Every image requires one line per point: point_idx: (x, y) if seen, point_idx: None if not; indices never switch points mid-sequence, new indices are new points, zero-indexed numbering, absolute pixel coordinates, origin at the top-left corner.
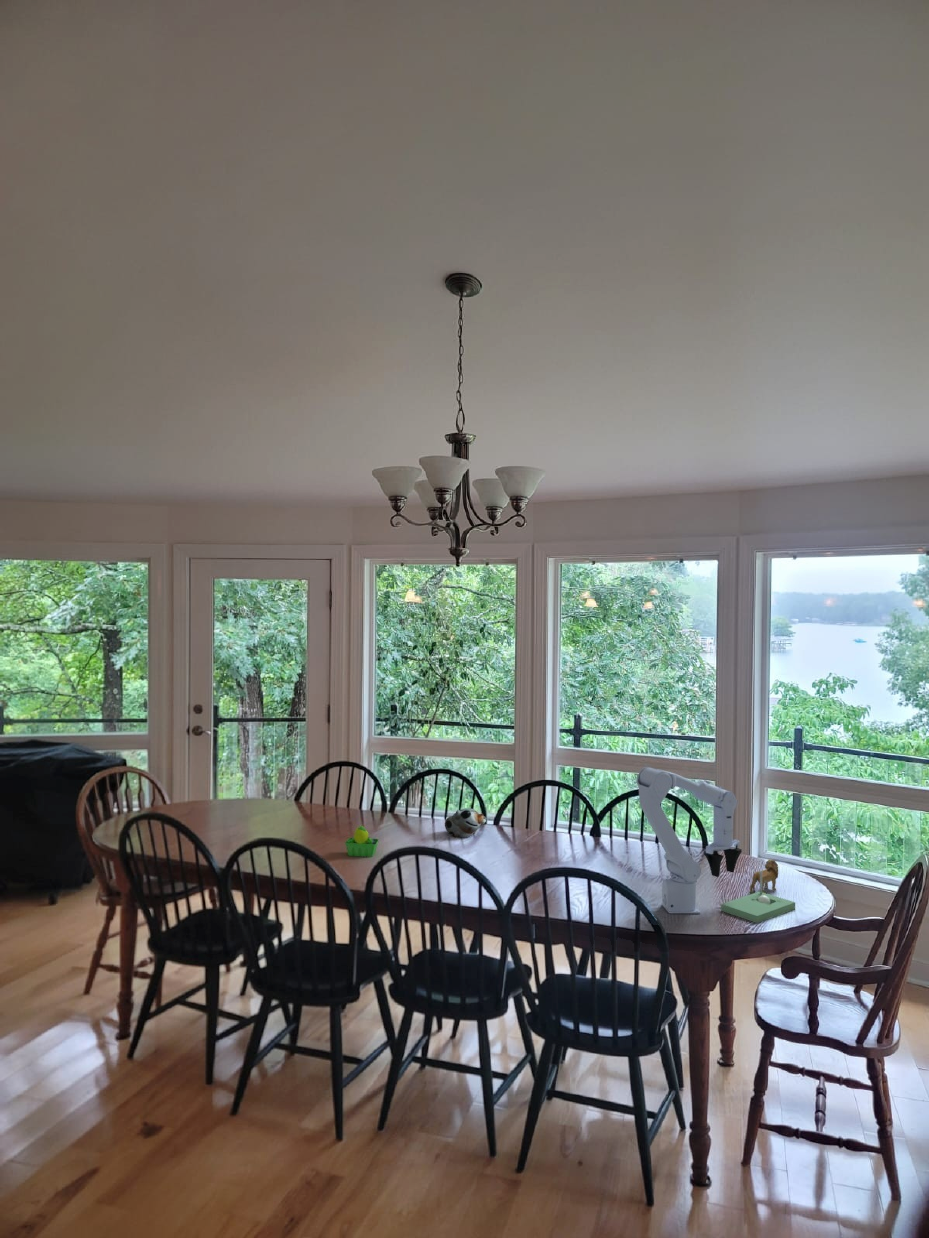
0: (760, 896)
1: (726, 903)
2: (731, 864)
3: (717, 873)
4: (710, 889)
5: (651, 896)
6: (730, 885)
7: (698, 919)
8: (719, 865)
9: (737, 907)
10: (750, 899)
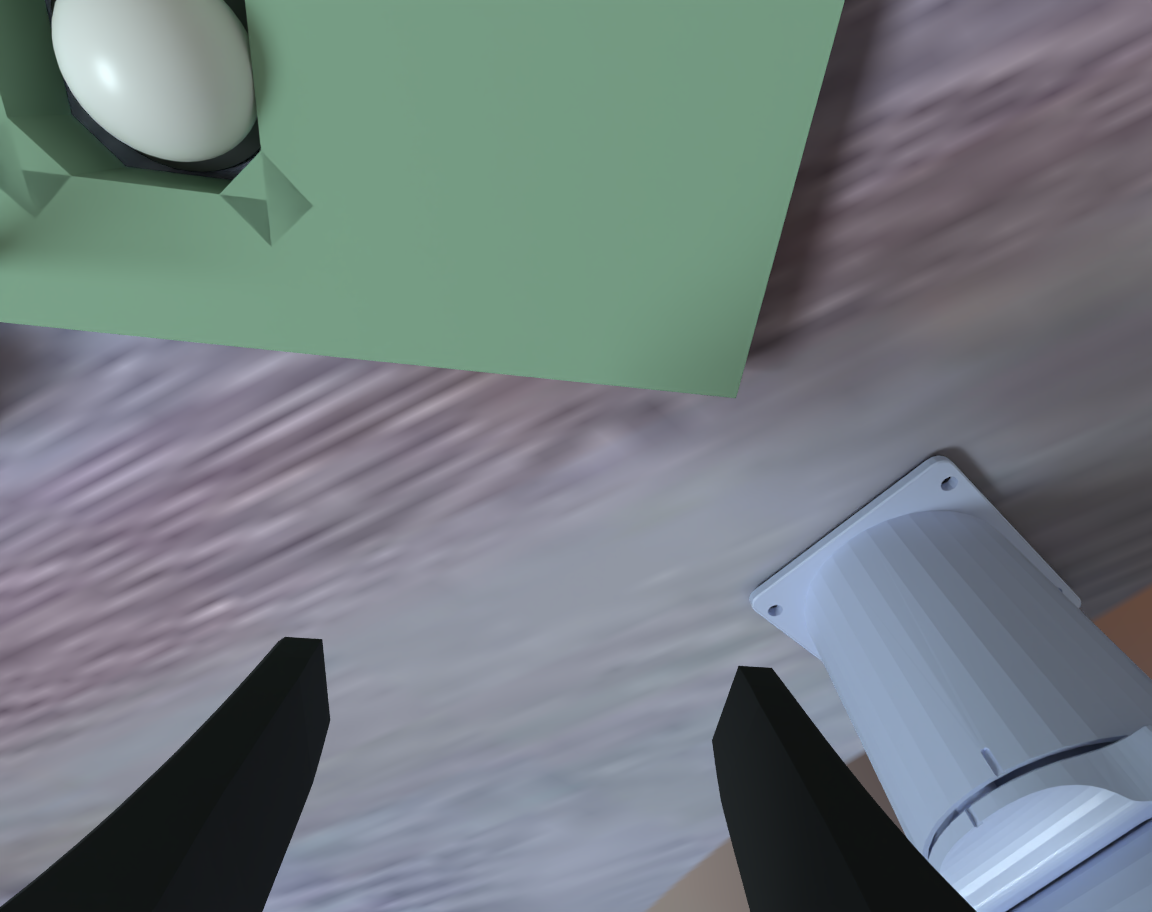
0: (177, 111)
1: (677, 367)
2: (260, 792)
3: (804, 717)
4: None
5: None
6: (3, 629)
7: (1096, 391)
8: (887, 865)
9: (723, 206)
10: (299, 238)
